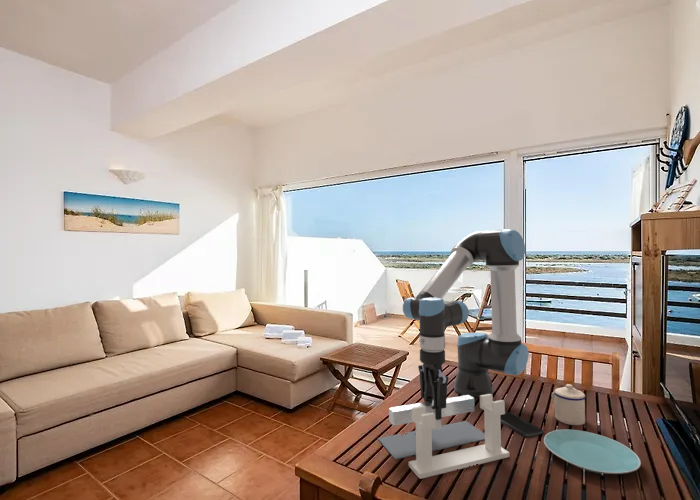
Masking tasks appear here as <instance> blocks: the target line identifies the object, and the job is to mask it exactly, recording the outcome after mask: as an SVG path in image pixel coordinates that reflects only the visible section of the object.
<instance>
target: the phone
mask: <svg viewBox="0 0 700 500" xmlns="http://www.w3.org/2000/svg"><path fill="white" fill-rule="evenodd" d="M500 422H501V423H502V425H503V426H505V427H506V426H507V428H508V427H509V428H508V429H510V428H511V429H512V430H511V429H510V430H511V431H513V432H515V433H517V434H518V435H520V436H522V437H524V438H532V437H537V436H540V435H544V433H545V432H544V431H545V430H544V429H542V428H540V427H539V426H537V425H535V424H533V423H531V422H530V421H528V420H525V419H524V418H523V417H520V416H518V415H517V414H515V413H512V412H510V411H508V412H506V411H505V414H503V415H500ZM536 435H537V436H536Z"/></svg>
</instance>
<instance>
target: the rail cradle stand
mask: <svg viewBox="0 0 700 500" xmlns="http://www.w3.org/2000/svg"><path fill="white" fill-rule="evenodd" d="M505 405H506V403H505V400H503V399H499V400H498V399H497V400H495V401H494V398H493V394H485V395H480V397H479V408H480V409H482V411H484V412H483V416H484V433H485V440H484V444H480V445H475V446H471V447H466V448H462V449H458V450H454V451H449V452H445V453H441V454H437V455H433V451H432V428H436V424H435V413H427V414H426V408H425V406H424V405H422V406H416V407H412V421H413V423H414V424H415V431H416V455H415V459H414V460H410V461H408V467H409V468H410V469H411V471H412V472H413V473H414V474H415V475H416V477H418V479H420V480H421V479H425V478H429V477H434V476H437V475H442V474H445V473H450V472H454V471H457V469H458V470H462V469H466V468H470V467H474V466H477V465H476V464H478V465H483V464H485V463H486V464H487V463H491V462H494V461H498V460H502V459H507V458H510V452H509V451H508V450H507V449H505V448H503V447H502V438H501V437H502V436H501V435H502V432H501V431H502V430H501V422H500V415H503V414H505V413H506V407H505ZM473 465H474V466H473ZM469 466H470V467H469Z"/></svg>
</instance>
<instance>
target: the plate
mask: <svg viewBox="0 0 700 500" xmlns="http://www.w3.org/2000/svg"><path fill="white" fill-rule="evenodd" d="M543 443H544V446H545V447H546V448H547V449H548V450H549V451H550V452H551V453H552V454H553V455H555V456H556V457H558V458H559V459H562V460H563V461H565V462H567V463H568V464H570V465H572V466H574V467H576V468H579V469H581V470H584V471H587V472H592V473H594V474H595V473H596V474H603V475H611V474H612V475H623V474H629V473H633V472H636V471H637V470H639V468H640V467H641V464H642V463H641V458H639V456H638V454H637V453H635V452H634V450H632V449H631V448H630V447H628V446H626V445H625V444H623V443H622V442H619V441H617V440H615V439H612V438H609V437H607V436H604V435H602V434H601V435H600V434H597V433H594V432H589V431H585V430H579V429H567V428H566V429H555V430H551V431H550V432H548V433H546V434H545V436H544V438H543Z"/></svg>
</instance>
